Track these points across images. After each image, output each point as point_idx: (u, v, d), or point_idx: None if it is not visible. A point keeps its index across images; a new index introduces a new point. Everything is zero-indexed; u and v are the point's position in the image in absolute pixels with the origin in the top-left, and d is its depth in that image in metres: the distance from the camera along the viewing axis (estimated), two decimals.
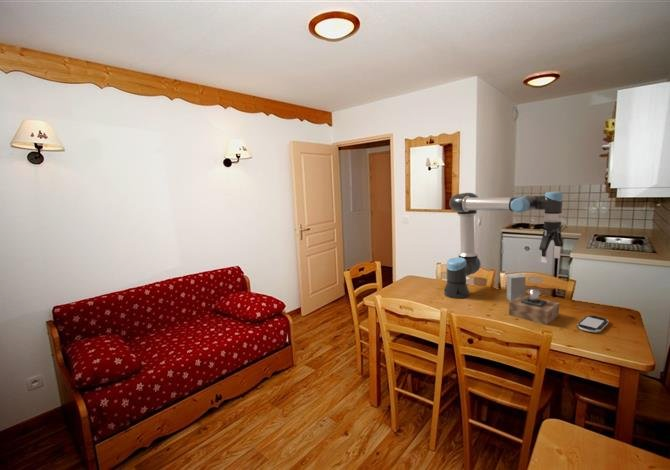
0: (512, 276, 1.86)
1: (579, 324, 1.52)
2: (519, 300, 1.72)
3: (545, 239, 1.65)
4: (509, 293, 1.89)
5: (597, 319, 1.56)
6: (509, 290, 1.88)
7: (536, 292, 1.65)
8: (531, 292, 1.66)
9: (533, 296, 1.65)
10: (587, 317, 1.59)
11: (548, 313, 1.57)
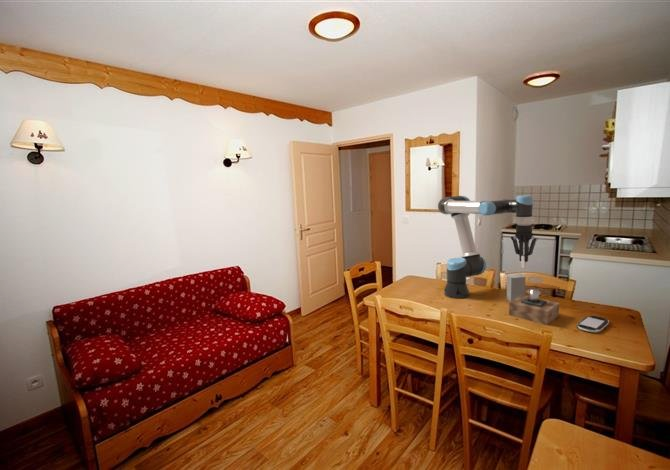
0: (512, 276, 1.86)
1: (579, 324, 1.52)
2: (519, 300, 1.72)
3: None
4: (509, 293, 1.89)
5: (598, 319, 1.56)
6: (509, 290, 1.88)
7: (536, 292, 1.65)
8: (531, 292, 1.66)
9: (533, 296, 1.65)
10: (588, 317, 1.59)
11: (548, 313, 1.57)
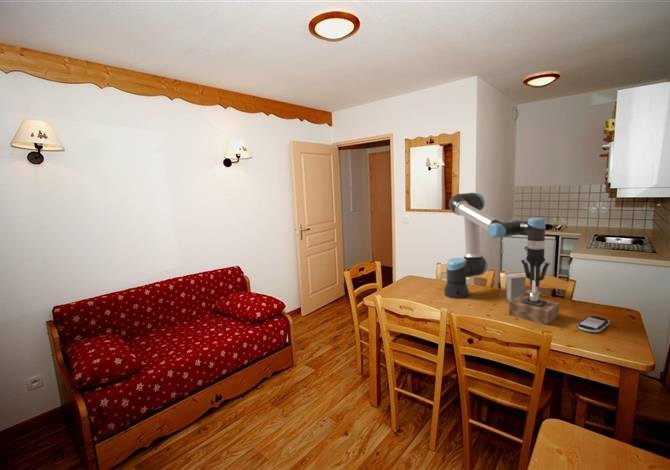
0: (512, 276, 1.86)
1: (579, 324, 1.52)
2: (519, 300, 1.72)
3: None
4: (509, 293, 1.89)
5: (598, 319, 1.56)
6: (509, 290, 1.88)
7: (536, 294, 1.65)
8: (531, 294, 1.66)
9: (533, 298, 1.66)
10: (588, 317, 1.59)
11: (548, 313, 1.57)
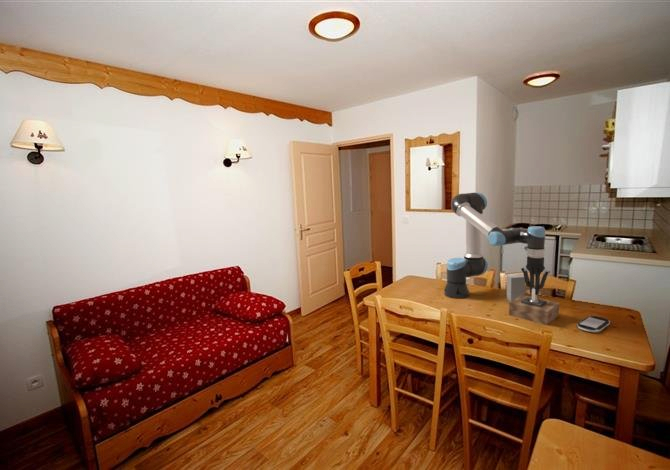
0: (512, 276, 1.86)
1: (579, 324, 1.52)
2: (519, 300, 1.72)
3: None
4: (509, 293, 1.89)
5: (599, 319, 1.55)
6: (509, 290, 1.88)
7: None
8: None
9: None
10: (589, 317, 1.59)
11: (548, 313, 1.57)
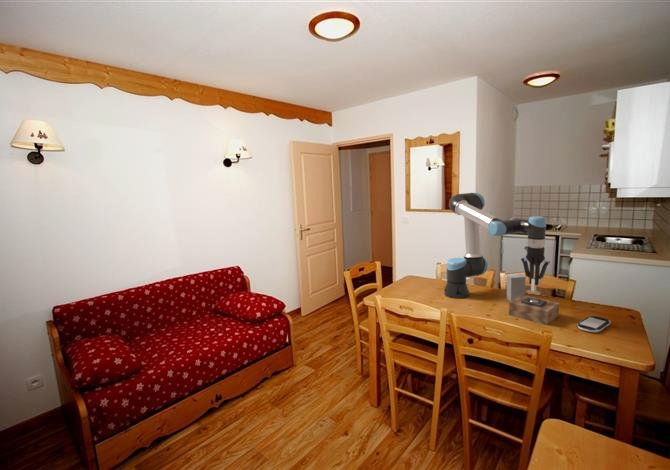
0: (512, 276, 1.86)
1: (579, 324, 1.52)
2: (519, 300, 1.72)
3: None
4: (509, 293, 1.89)
5: (599, 320, 1.55)
6: (509, 290, 1.88)
7: None
8: None
9: None
10: (589, 317, 1.59)
11: (548, 313, 1.57)
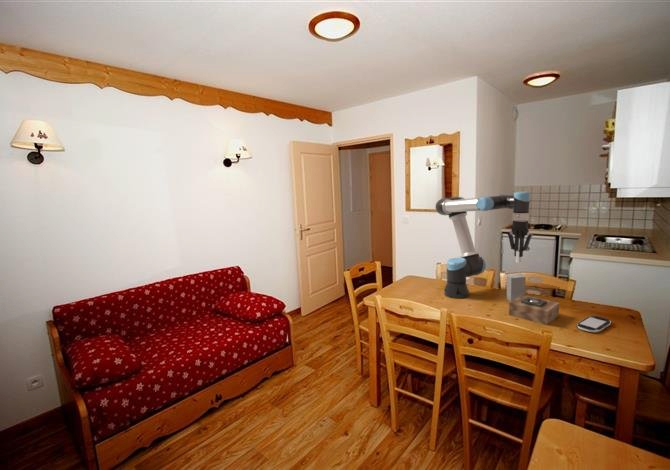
0: (512, 276, 1.86)
1: (579, 324, 1.52)
2: (519, 300, 1.72)
3: None
4: (509, 293, 1.89)
5: (599, 320, 1.55)
6: (509, 290, 1.88)
7: None
8: None
9: None
10: (589, 317, 1.58)
11: (548, 313, 1.57)
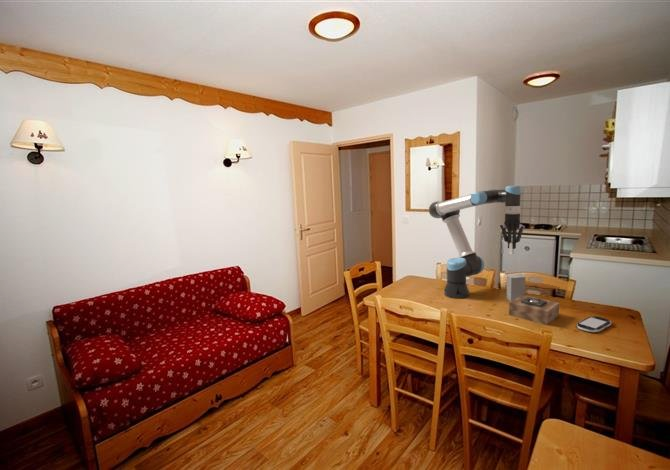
0: (512, 276, 1.86)
1: (578, 323, 1.53)
2: (519, 300, 1.72)
3: None
4: (509, 293, 1.89)
5: (600, 320, 1.55)
6: (509, 290, 1.88)
7: None
8: None
9: None
10: (590, 317, 1.58)
11: (548, 313, 1.57)
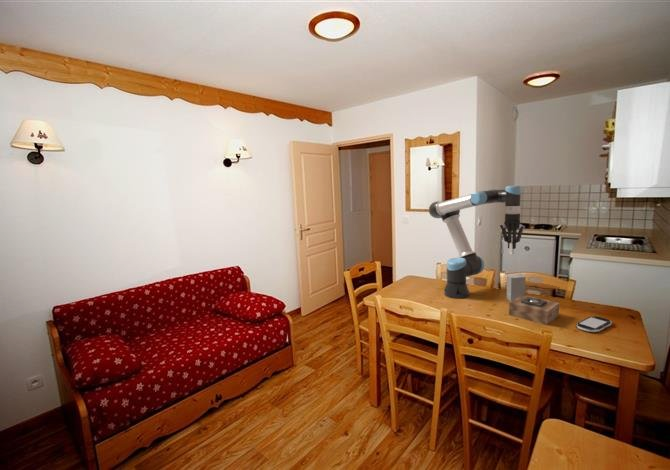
0: (512, 276, 1.86)
1: (578, 323, 1.53)
2: (519, 300, 1.72)
3: None
4: (509, 293, 1.89)
5: (600, 320, 1.55)
6: (509, 290, 1.88)
7: None
8: None
9: None
10: (590, 317, 1.58)
11: (548, 313, 1.57)
